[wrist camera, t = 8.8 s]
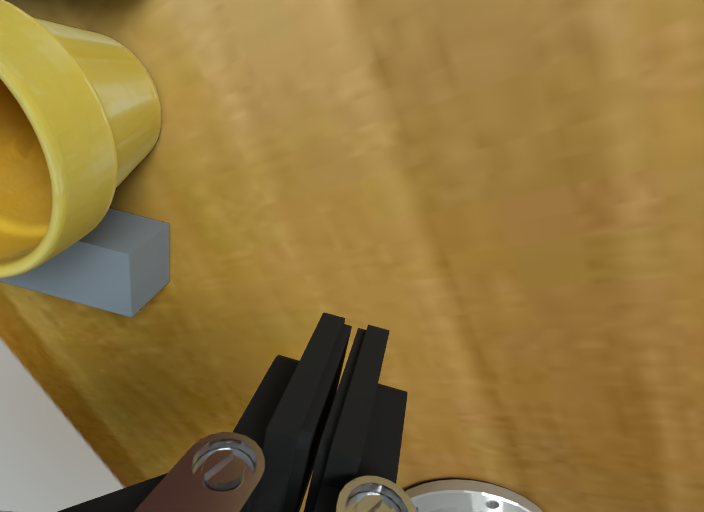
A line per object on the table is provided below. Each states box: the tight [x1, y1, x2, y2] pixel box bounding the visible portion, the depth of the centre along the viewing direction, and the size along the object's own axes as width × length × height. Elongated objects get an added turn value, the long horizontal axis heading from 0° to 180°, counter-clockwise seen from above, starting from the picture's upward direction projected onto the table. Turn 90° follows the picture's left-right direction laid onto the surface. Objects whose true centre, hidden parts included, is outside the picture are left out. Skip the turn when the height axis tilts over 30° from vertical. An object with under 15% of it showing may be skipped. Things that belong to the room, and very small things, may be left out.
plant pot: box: [0, 0, 161, 278], centre depth 20 cm, size 10×10×10 cm
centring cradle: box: [0, 208, 170, 318], centre depth 23 cm, size 21×12×4 cm, turn 169°
